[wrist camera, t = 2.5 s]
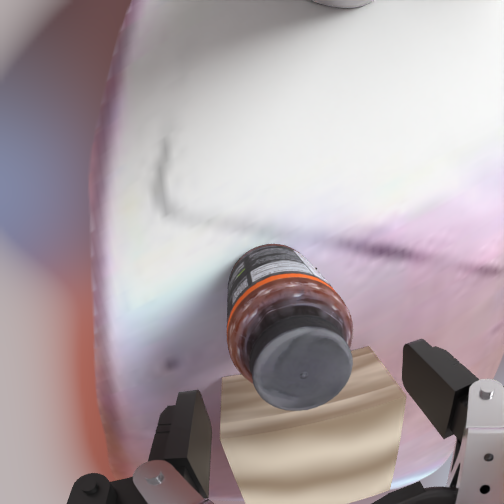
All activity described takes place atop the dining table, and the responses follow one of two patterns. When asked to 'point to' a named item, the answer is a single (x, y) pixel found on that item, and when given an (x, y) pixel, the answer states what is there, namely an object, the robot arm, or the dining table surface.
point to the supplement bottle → (287, 329)
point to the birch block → (315, 439)
